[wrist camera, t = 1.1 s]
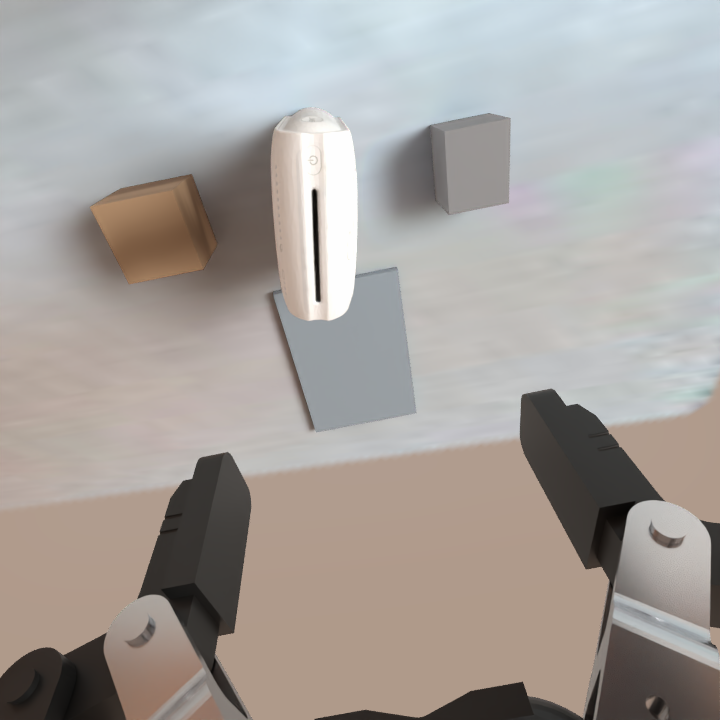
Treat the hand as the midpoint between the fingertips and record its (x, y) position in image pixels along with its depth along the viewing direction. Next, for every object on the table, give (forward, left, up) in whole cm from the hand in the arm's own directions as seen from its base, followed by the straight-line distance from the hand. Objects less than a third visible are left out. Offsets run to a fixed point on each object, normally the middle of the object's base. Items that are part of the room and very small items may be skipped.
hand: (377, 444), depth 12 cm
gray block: (-2, +9, -24) cm, 26 cm away
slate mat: (+13, -1, -24) cm, 27 cm away
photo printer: (-2, -1, -24) cm, 24 cm away
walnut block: (-2, -12, -24) cm, 27 cm away
